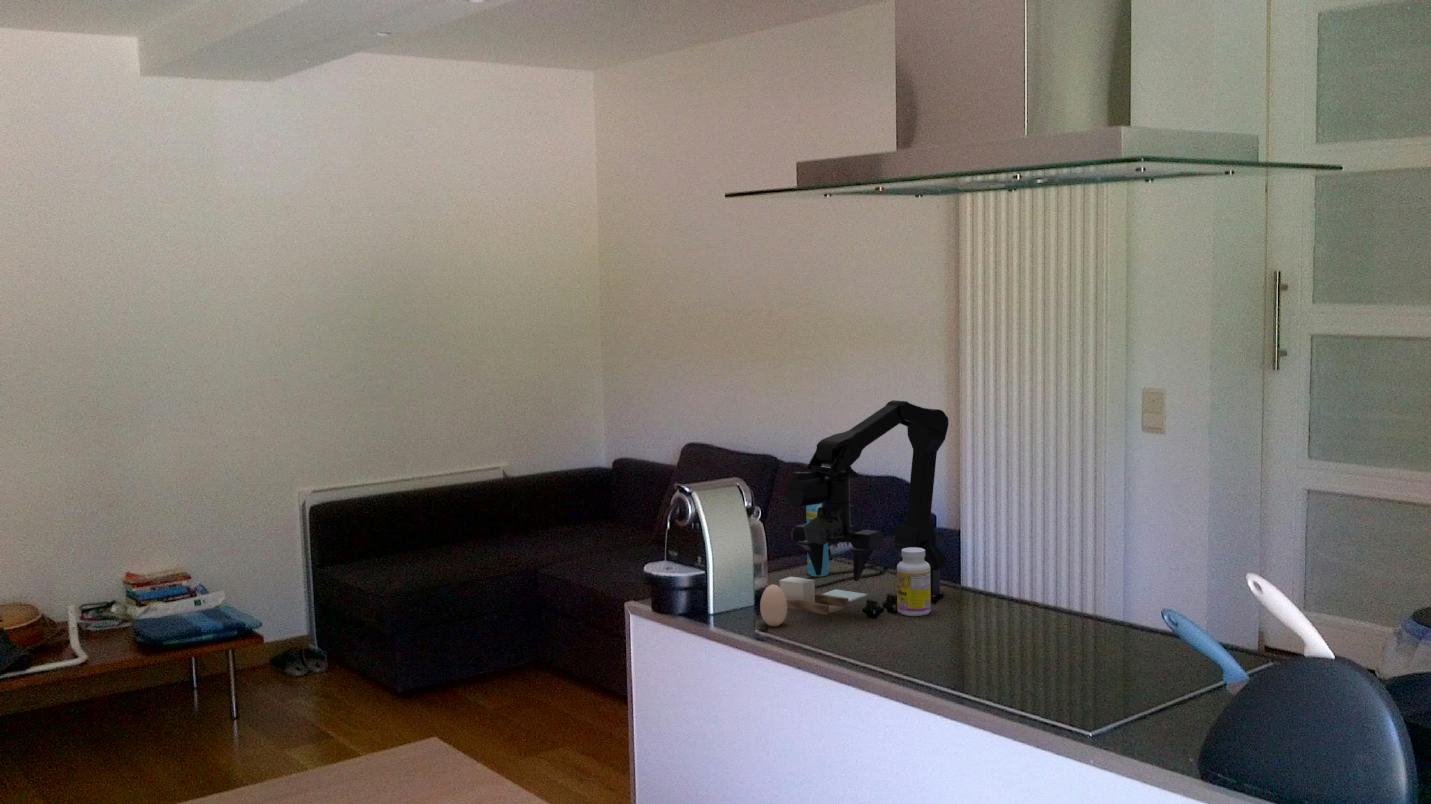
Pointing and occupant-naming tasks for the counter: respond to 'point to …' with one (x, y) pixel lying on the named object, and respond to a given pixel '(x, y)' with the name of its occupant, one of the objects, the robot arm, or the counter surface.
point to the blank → (798, 589)
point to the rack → (819, 604)
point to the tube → (811, 514)
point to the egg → (773, 605)
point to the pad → (846, 594)
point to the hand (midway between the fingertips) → (837, 578)
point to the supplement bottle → (913, 583)
